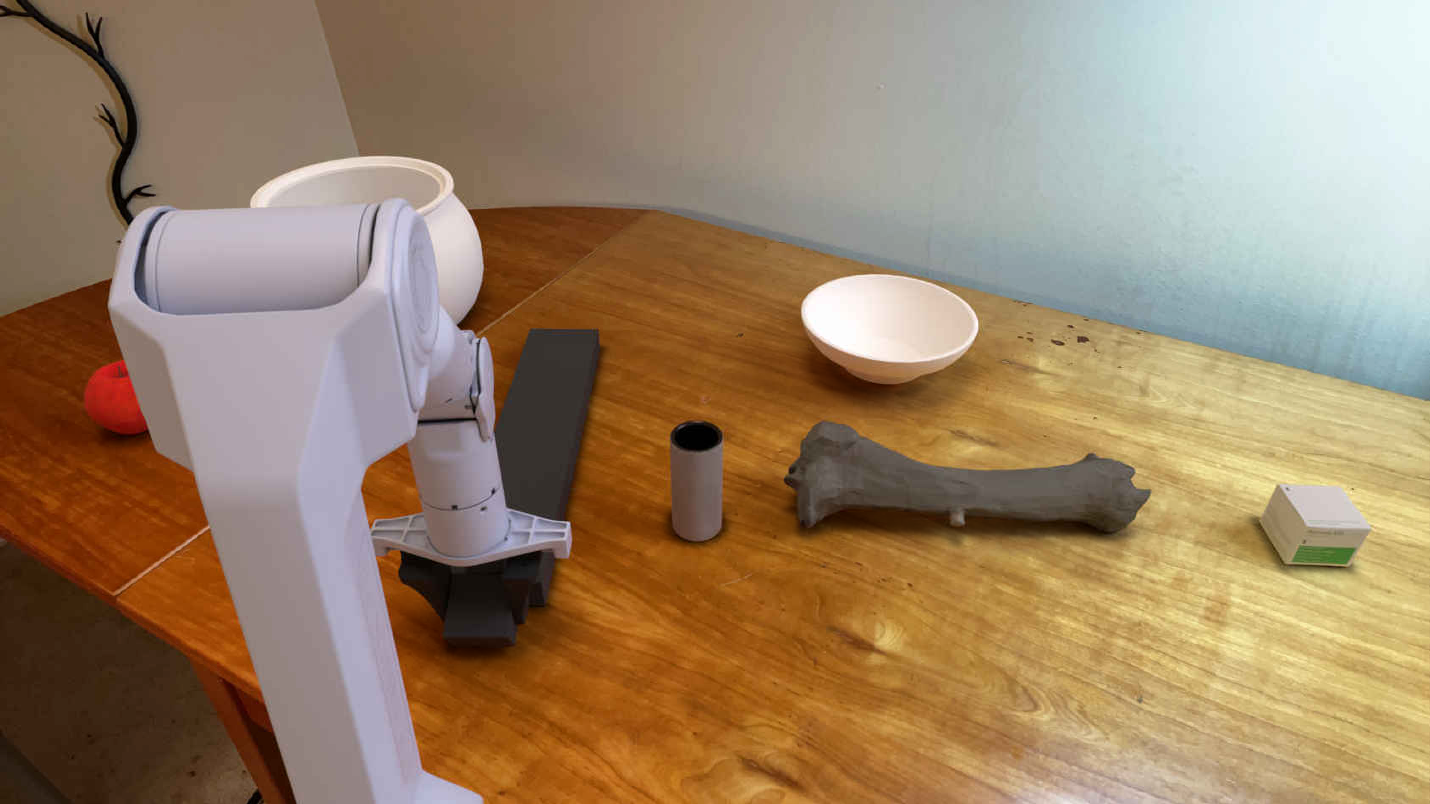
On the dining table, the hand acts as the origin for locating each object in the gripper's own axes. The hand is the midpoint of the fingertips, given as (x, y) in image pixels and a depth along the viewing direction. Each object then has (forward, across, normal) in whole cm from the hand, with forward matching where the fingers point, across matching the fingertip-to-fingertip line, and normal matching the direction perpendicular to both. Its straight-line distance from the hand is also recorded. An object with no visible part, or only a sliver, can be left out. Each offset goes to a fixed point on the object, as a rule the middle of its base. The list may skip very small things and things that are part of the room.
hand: (486, 614), depth 72 cm
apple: (+2, +42, -26) cm, 50 cm away
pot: (+2, +24, -51) cm, 56 cm away
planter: (+2, -16, -12) cm, 21 cm away
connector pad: (0, 0, -2) cm, 2 cm away
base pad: (+2, 0, -23) cm, 23 cm away
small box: (+2, -71, -11) cm, 71 cm away
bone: (+2, -40, -14) cm, 43 cm away
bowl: (+2, -37, -40) cm, 54 cm away
